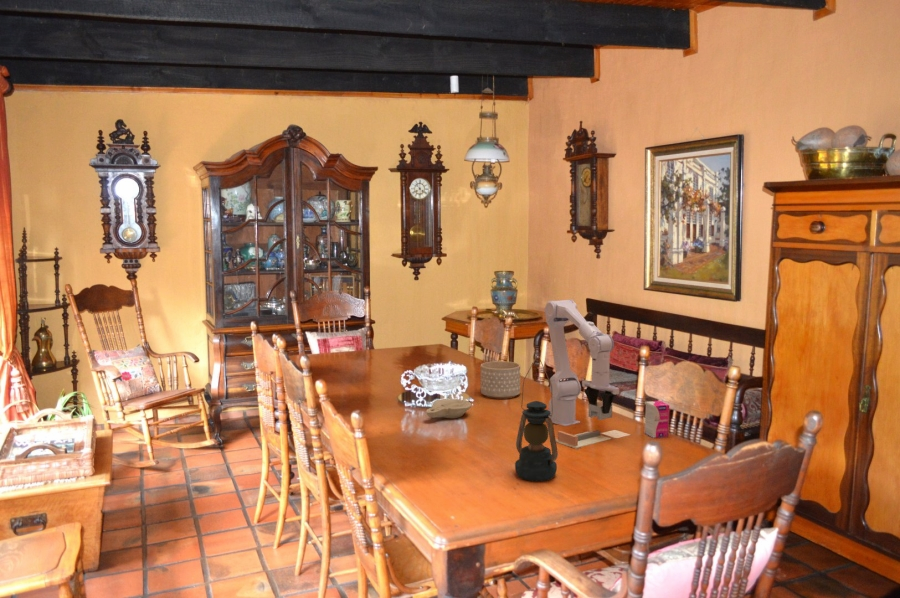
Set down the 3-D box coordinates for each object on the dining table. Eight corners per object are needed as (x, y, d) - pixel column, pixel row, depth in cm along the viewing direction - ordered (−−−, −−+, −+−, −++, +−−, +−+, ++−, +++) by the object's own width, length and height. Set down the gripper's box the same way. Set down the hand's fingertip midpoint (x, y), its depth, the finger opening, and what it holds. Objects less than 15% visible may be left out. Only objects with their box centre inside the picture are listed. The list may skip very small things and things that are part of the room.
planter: (476, 398, 299) (476, 367, 298) (486, 389, 315) (486, 360, 314) (515, 401, 295) (515, 370, 293) (523, 391, 310) (523, 362, 309)
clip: (588, 416, 245) (588, 404, 244) (600, 414, 248) (600, 401, 248) (599, 420, 241) (599, 406, 240) (612, 417, 244) (612, 404, 244)
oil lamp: (444, 427, 258) (444, 413, 258) (413, 420, 267) (413, 407, 266) (478, 414, 275) (478, 401, 274) (448, 408, 283) (448, 396, 283)
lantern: (503, 474, 210) (503, 354, 207) (529, 464, 219) (530, 348, 215) (542, 487, 200) (543, 360, 196) (568, 476, 209) (570, 355, 205)
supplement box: (653, 439, 243) (654, 405, 241) (644, 434, 248) (644, 401, 247) (668, 438, 244) (669, 404, 243) (659, 433, 250) (660, 400, 249)
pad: (600, 434, 249) (600, 433, 249) (614, 430, 253) (614, 429, 253) (616, 439, 243) (616, 438, 243) (630, 435, 247) (630, 434, 247)
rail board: (554, 441, 241) (554, 430, 241) (588, 433, 250) (589, 422, 250) (576, 449, 233) (576, 438, 232) (611, 440, 242) (611, 429, 242)
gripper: (576, 369, 246) (575, 408, 248) (609, 376, 235) (608, 418, 236) (590, 366, 250) (589, 405, 252) (623, 373, 239) (622, 414, 240)
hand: (599, 411), depth 244 cm, fingers closed on clip, 5 cm apart
